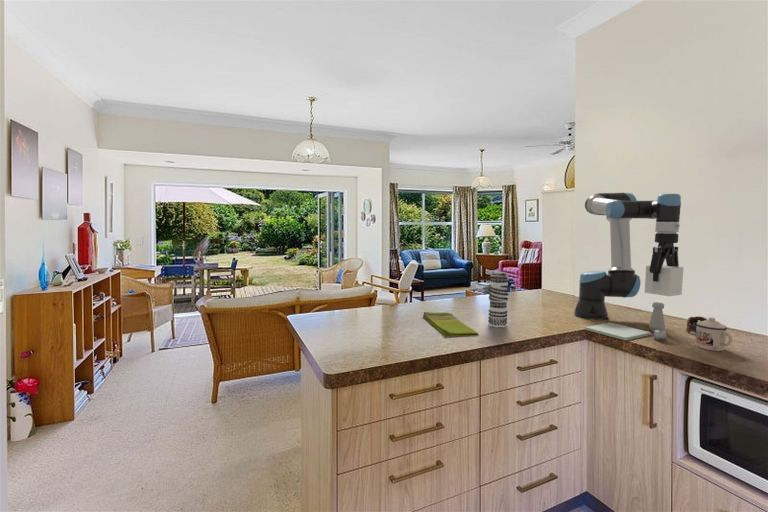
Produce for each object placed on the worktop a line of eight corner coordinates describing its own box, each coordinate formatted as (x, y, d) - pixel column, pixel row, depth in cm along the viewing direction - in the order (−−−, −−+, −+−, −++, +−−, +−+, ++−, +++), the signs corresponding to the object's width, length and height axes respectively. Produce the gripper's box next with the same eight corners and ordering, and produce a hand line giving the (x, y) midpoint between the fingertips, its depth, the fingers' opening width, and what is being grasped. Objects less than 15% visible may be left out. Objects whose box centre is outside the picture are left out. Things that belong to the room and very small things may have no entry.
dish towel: (451, 316, 197) (451, 310, 196) (479, 336, 161) (479, 329, 161) (422, 317, 194) (422, 311, 194) (444, 338, 159) (444, 330, 159)
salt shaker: (663, 330, 170) (665, 302, 169) (666, 334, 165) (668, 304, 164) (647, 329, 172) (649, 301, 171) (650, 332, 167) (651, 303, 166)
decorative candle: (506, 323, 182) (508, 271, 180) (509, 328, 173) (511, 273, 171) (486, 322, 183) (488, 270, 181) (488, 327, 174) (490, 273, 172)
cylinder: (651, 339, 156) (652, 330, 156) (657, 338, 158) (657, 329, 158) (662, 342, 153) (663, 332, 153) (668, 341, 155) (668, 331, 154)
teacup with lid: (688, 344, 150) (690, 315, 149) (707, 343, 152) (709, 314, 151) (720, 354, 138) (723, 323, 137) (740, 353, 140) (743, 322, 139)
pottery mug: (721, 337, 162) (716, 322, 160) (697, 345, 164) (693, 330, 162) (700, 323, 174) (696, 308, 171) (678, 331, 176) (674, 317, 173)
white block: (644, 292, 156) (646, 265, 155) (657, 291, 160) (658, 265, 159) (669, 296, 148) (670, 268, 147) (681, 294, 152) (683, 267, 151)
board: (584, 329, 171) (585, 327, 171) (610, 325, 179) (610, 322, 179) (625, 340, 155) (625, 337, 155) (651, 335, 163) (651, 332, 163)
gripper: (661, 233, 144) (657, 292, 146) (692, 233, 154) (688, 288, 155) (640, 232, 151) (637, 289, 152) (671, 232, 160) (667, 285, 162)
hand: (663, 288), depth 154 cm, fingers closed on white block, 9 cm apart
